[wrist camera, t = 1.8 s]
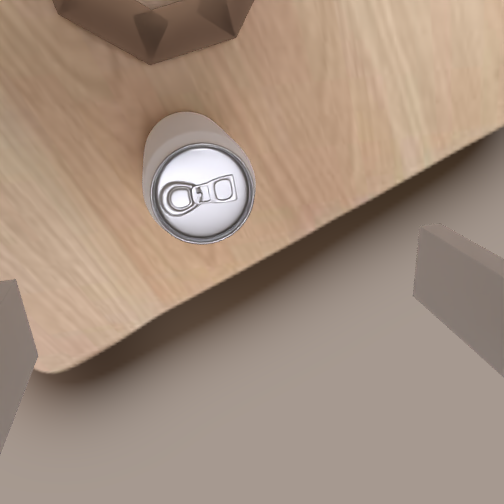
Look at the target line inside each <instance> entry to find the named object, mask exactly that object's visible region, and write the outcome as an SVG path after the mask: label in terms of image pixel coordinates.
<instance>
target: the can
mask: <svg viewBox="0 0 504 504" xmlns="http://www.w3.org/2000/svg"><path fill="white" fill-rule="evenodd" d="M142 188H143V196H144V200H145V203H146V206H147V208H148V210H149V212H150V214H151V216H152V217H153V219H154V220H155V221H156V222H157V223H158V224H159V225H160V226H161V227H162V228H163V229H164V230H166V231H167V232H168V233H169V234H171V235H172V236H174V237H175V238H177V239H179V240H181V241H184V242H187V243H192V244H211V243H216V242H219V241H222V240H224V239H226V238H228V237H230V236H231V235H233V234H234V233H235V232H236V231H238V230H239V229H240V228H241V227H242V225H243V224H244V223H245V221H246V220H247V218H248V217H249V215H250V212H251V210H252V207H253V203H254V196H255V189H256V182H255V175H254V171H253V168H252V165H251V163H250V161H249V159H248V157H247V155H246V154H245V152H244V151H243V150H242V149H241V147H240V146H239V145H238V144H237V143H236V142H235V141H234V140H233V139H232V138H231V137H230V136H229V135H228V134H227V133H226V132H225V131H224V130H223V129H222V128H220V127H219V126H218V125H217V124H216V123H215V122H214V121H212V120H211V119H209V118H208V117H206V116H204V115H202V114H199V113H195V112H178V113H174V114H171V115H168V116H166V117H165V118H163V119H162V120H160V121H159V122H158V123H157V124H156V125H155V126H154V127H153V129H152V130H151V132H150V133H149V135H148V138H147V140H146V144H145V148H144V157H143V174H142Z"/></svg>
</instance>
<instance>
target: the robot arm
mask: <svg viewBox="0 0 504 504" xmlns="http://www.w3.org/2000/svg"><path fill="white" fill-rule="evenodd" d="M413 296H414V297H415V298H416V299H417V300H418V301H419V302H420V303H421V304H423V305H424V306H425V307H426V308H427V309H428V310H429V311H431V312H432V313H433V314H434V315H435V316H436V317H437V318H438V319H439V320H440V321H442V322H443V323H444V324H445V325H446V326H447V327H448V328H449V329H450V330H452V331H453V332H454V333H455V334H456V335H457V336H458V337H459V338H460V339H462V340H463V341H464V342H465V343H466V344H467V345H468V346H469V347H470V348H472V349H473V350H474V351H475V352H476V353H477V354H478V355H479V356H480V357H482V358H483V359H484V360H485V361H486V362H487V363H488V364H489V365H491V366H492V367H493V368H494V369H495V370H496V371H497V372H498V373H499V374H501V375H502V376H503V377H504V259H503V258H501V257H499V256H497V255H495V254H494V253H492V252H490V251H488V250H487V249H485V248H483V247H481V246H479V245H478V244H476V243H474V242H472V241H471V240H469V239H467V238H465V237H464V236H462V235H460V234H458V233H456V232H455V231H453V230H451V229H449V228H447V227H446V226H444V225H442V224H440V223H437V224H430V225H422V226H420V227H419V237H418V248H417V258H416V269H415V279H414V290H413ZM37 358H38V353H37V349H36V346H35V343H34V339H33V336H32V332H31V329H30V326H29V322H28V319H27V315H26V312H25V309H24V305H23V302H22V298H21V295H20V292H19V288H18V285H17V281H16V279H14V280H6V281H0V454H1V451H2V449H3V446H4V443H5V441H6V438H7V436H8V433H9V430H10V427H11V425H12V423H13V420H14V417H15V415H16V412H17V410H18V407H19V404H20V402H21V399H22V397H23V394H24V391H25V389H26V386H27V384H28V381H29V378H30V376H31V373H32V371H33V368H34V365H35V363H36V360H37Z"/></svg>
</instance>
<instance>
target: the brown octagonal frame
mask: <svg viewBox="0 0 504 504" xmlns="http://www.w3.org/2000/svg"><path fill="white" fill-rule="evenodd" d="M253 2H254V0H182V1H179V2H175V3H172V4H169V5H166V6H162V7H159V8H156V9H153V10H151V9H149V8H147V7H146V6H144V5H142V4H141V3H139V2H137V1H136V0H53V3H54V5H55V8H56V10H57V12H58V14H59V15H61V16H62V17H64V18H66V19H68V20H70V21H72V22H73V23H75V24H77V25H79V26H81V27H82V28H84V29H86V30H88V31H90V32H91V33H93V34H95V35H97V36H99V37H100V38H102V39H104V40H106V41H108V42H109V43H111V44H113V45H115V46H117V47H118V48H120V49H122V50H124V51H126V52H127V53H129V54H131V55H133V56H135V57H136V58H138V59H140V60H142V61H144V62H146V63H147V64H149V65H152V64H155V63H158V62H161V61H165V60H168V59H171V58H174V57H177V56H180V55H183V54H187V53H190V52H193V51H196V50H199V49H202V48H205V47H209V46H212V45H215V44H218V43H221V42H224V41H227V40H231V39H234V38H236V37H237V35H238V33H239V31H240V29H241V27H242V24H243V22H244V20H245V18H246V16H247V14H248V12H249V10H250V8H251V6H252V4H253Z"/></svg>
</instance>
